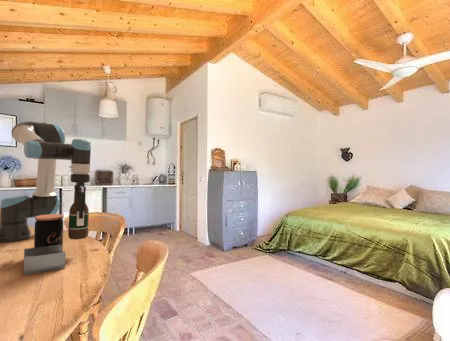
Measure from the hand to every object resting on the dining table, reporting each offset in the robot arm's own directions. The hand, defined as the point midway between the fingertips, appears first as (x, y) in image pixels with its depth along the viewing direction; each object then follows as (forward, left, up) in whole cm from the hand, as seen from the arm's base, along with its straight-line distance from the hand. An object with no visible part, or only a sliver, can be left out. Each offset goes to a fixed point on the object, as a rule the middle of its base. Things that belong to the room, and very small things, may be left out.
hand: (78, 223), depth 118 cm
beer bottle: (0, 0, -6) cm, 6 cm away
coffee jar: (-7, -11, -15) cm, 19 cm away
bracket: (+7, -13, -15) cm, 21 cm away
